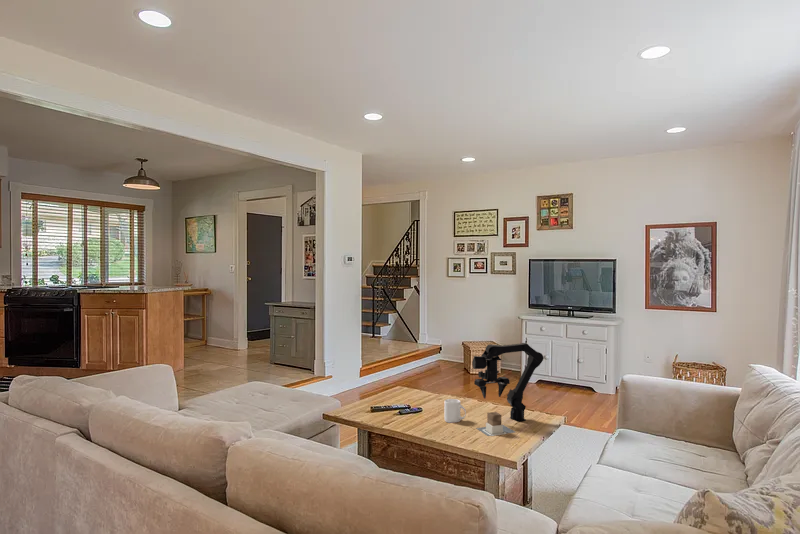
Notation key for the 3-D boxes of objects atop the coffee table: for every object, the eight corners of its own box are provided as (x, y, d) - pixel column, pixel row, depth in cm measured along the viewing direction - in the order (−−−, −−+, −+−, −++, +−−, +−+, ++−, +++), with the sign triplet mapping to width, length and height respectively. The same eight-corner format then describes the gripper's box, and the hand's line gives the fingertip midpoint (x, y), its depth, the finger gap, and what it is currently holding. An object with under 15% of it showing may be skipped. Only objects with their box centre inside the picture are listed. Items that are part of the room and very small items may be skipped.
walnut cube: (496, 421, 238) (495, 411, 238) (501, 424, 234) (501, 414, 234) (487, 422, 237) (487, 412, 237) (492, 425, 232) (492, 415, 232)
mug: (462, 425, 247) (462, 405, 247) (441, 421, 253) (441, 401, 253) (468, 421, 254) (468, 401, 254) (448, 417, 260) (448, 398, 260)
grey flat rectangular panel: (502, 425, 246) (502, 424, 246) (516, 433, 234) (516, 432, 234) (475, 429, 241) (475, 427, 241) (488, 437, 229) (488, 435, 229)
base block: (496, 429, 239) (496, 421, 239) (502, 433, 233) (502, 425, 233) (485, 430, 237) (485, 422, 237) (492, 434, 231) (492, 426, 231)
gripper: (499, 364, 265) (499, 392, 265) (469, 366, 259) (469, 395, 259) (510, 368, 255) (510, 397, 255) (479, 370, 248) (479, 400, 248)
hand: (492, 397), depth 254 cm, fingers open, 9 cm apart
